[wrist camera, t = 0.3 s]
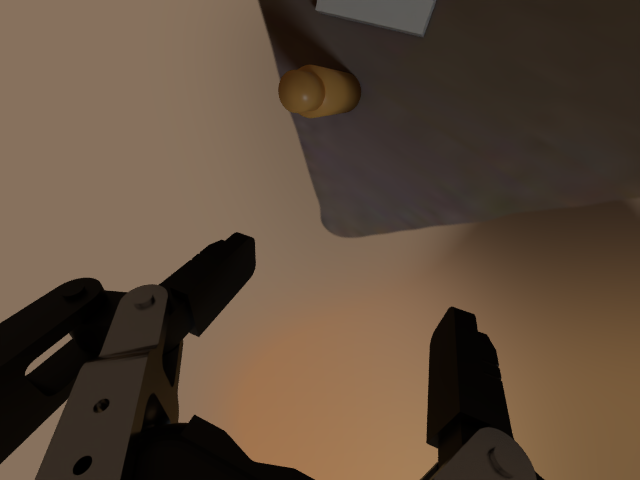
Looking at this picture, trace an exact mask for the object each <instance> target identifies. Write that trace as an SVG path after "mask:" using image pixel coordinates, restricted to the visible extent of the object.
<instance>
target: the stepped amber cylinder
mask: <svg viewBox="0 0 640 480" xmlns="http://www.w3.org/2000/svg"><path fill="white" fill-rule="evenodd" d="M278 92H279V98H280V100H281V103H282V104H283V106H284V107H285V108H286V109H287V110H288V111H290V112H293V113H299V114H300V115H302V116H304V117H307V118H315V117H321V116H328V115H334V114H340V113H346V112H349V111H351V110H353V109H354V108H355V107H356V106H357V104H358V102H359V100H360V97H361V87H360V83H359V81H358V80H357V78H356V77H355V76H354V75H352V74H350V73H347V72H342V71H338V70H333V69H329V68H325V67H320V66H316V65H305V66H302V67H300V68H299V69H298V70H290V71H288V72H286V73H285V74H284V75H283V76H282V78H281V80H280V83H279V89H278Z"/></svg>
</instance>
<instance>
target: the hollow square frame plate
mask: <svg viewBox="0 0 640 480" xmlns="http://www.w3.org/2000/svg"><path fill="white" fill-rule="evenodd" d="M435 3H436V0H317V4H316V11H318V12H319V13H321V14H325V15H330V16H334V17H338V18H342V19H347V20H351V21H355V22H359V23H364V24H368V25H372V26H377V27H381V28H385V29H389V30H394V31H398V32H402V33H406V34H411V35H415V36H419V37H423V36H424V33H425V31H426V28H427V25H428V22H429V19H430V17H431V14H432V11H433V8H434V5H435Z"/></svg>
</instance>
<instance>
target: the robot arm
mask: <svg viewBox="0 0 640 480" xmlns="http://www.w3.org/2000/svg"><path fill="white" fill-rule="evenodd" d="M255 266H256V260H255V240H254V238H252V237H250V236H247V235H244V234H241V233H238V232H236V233H234V234H233V235H231V236H230V237H229V238H228V239H227V240H225V241H224V240H220V241H218V242H215V243H213V244H210V245H208V246H207V247H206V248H205V249H203V250H202V251H201V252H200V254H197V255H196V256H195V257H193V258H192V260H190V261H188V262H187V263H186V264H185V265H183V266H182V267H181V268H180V269H178V270H177V271H176V272H174V273H173V274H172V275H171V276H170V277H168V278H167V279H166V280H164V281H163V282H162V283H161V284H159V285H153V284H152V285H144V286H140V287H137V288H135V289H133V290H131V291H130V292H116V291H105V290H104V289H103V287H102V285H101V283H100V282H99V281H98V280H96V279H93V278H80V279H75V280H71V281H69V282H66V283H64V284H62V285H60V286H58V287H57V288H55V289H54V290H52V291H50V292H49V293H47V294H46V295H44V296H43V297H41V298H39V299H38V300H36V301H35V302H33V303H31V304H30V305H28V306H27V307H25V308H24V309H22V310H20V311H19V312H17V313H16V314H14V315H13V316H11V317H9V318H8V319H6V320H5V321H3V322H1V323H0V464H1V463H2V462H3V461H4V460H5V459H6V458H7V457H8V456H9V455H10V454H11V453H12V452H13V451H14V450H15V449H16V448H17V447H18V446H20V445H21V444H22V443H23V442H24V441H25V440H26V439H27V438H28V437H29V436H30V435H31V434H32V433H33V432H34V431H35V430H36V429H37V428H38V427H39V426H40V425H41V424H42V423H43V422H44V421H45V420H46V419H47V418H48V417H49V416H50V415H51V414H52V413H54V412H55V411H56V410H57V409H58V408H59V407H60V406H61V405H62V404H63V403H64V402H65V401H66V400H67V399H68V401H67V403H66V405H65V408H64V410H63V413H62V415H61V417H60V420H59V423H58V425H57V427H56V430H55V432H54V435H53V437H52V439H51V442H50V444H49V447H48V449H47V451H46V454H45V456H44V459H43V461H42V463H41V466H40V468H39V471H38V473H37V475H36V478H35V480H315V479H313V478H311V477H309V476H307V475H305V474H303V473H302V472H300V471H298V470H296V469H294V468H288V467H282V466H276V465H270V464H264V463H258V462H254V461H252V460H251V459H250V458H249V457H248V456H247V455H246V454H245V453H244V452H243V451H242V449H241V448H240V447H239V446H238V445H237V444H236V443H235V442H234V441H233V439H232V438H231V437H230V436H229V435H228V434H227V433H226V432H225V431H224V430H222V429H220V428H218V427H216V426H215V425H213V424H211V423H209V422H207V421H205V420H203V419H202V418H200V417H198V416H196V415H194V416H193V417H192V419H191V420H190V422H189V423H178V418H179V404H178V394H177V393H178V383H179V374H180V365H181V358H182V349H183V338H184V337H185V336H186V335H187V334H188V333H191V334H193V335H196V336H198V337H199V336H200V335H201V334H202V333H203V332H204V331H205V329H206V328H207V327H208V326H209V325H210V324H211V322H212V321H213V320H214V319H215V318H216V317H217V316H218V314H219V313H220V312H221V311H222V310H223V309H224V308H225V306H226V305H227V304H228V303H229V302H230V301H231V300H232V299H233V297H234V296H235V295H236V294H237V293H238V292H239V290H240V289H241V288H242V287H243V286H244V285H245V284H246V282H247V281H248V280H249V279H250V278H251V276H252V275H253V273H254V270H255ZM68 333H69V334H70V335H71V337H72V338H73V339H72V340H70V341H69V342H68V343H67V344H65V345H64V346H63V347H62V348H60V349H59V350H58V351H57V352H55V353H54V354H53V355H52V356H50V357H49V358H48V359H47V360H45V361H44V362H43V363H42V364H41V365H39V366H38V367H37V368H36V369H35V370H33V371H32V372H31V373H29V374H28V375H26V376H25V371H26V369H27V367H28V366H29V365H30V363H32V362H33V361H34V360H35V359H36V358H37V357H39V356H40V355H41V354H43V353H44V352H45V351H46V350H48V349H49V348H50V347H51V346H53V345H54V344H55V343H56V342H58V341H59V340H60V339H62V338H63V337H64V336H66V335H67V334H68ZM498 366H499V363H498V358H497V353H496V349H495V348H494V346H493V344H492V343H491V341H490V339H489V337H488V336H487V335H486V334H484V333H481V332H478V330H477V322H476V317H475V315H474V314H472V313H469V312H466V311H463V310H460V309H457V308H455V307H450V308H449V309H448V310H447V312H446V313H445V315H444V317H443V318H442V320H441V321H440V323H439V324H438V326H437V328H436V329H435V331H434V333H433V336H432V338H431V343H430V357H429V385H428V414H427V441H426V443H427V444H429V445H431V446H434V447H436V448H438V462H437V463H436V464H435V465H434V466H433V467H432V468H431V469H430V470H429V471H428V472H427V473H426V474H425V475H424V476H423V477H422V478H421V479H420V480H544V479H543V478H542V477H540V476H539V475H538V474H537V473H536V472H535V471H534V468H533V466H532V464H531V461H530V460H529V458H528V456H527V455H526V453H525V452H524V451H523V449H522V448H521V447H520V446H519V444H518V443H517V442H516V441H515V440H514V438H513V434H512V430H511V425H510V419H509V415H508V409H507V404H506V399H505V394H504V389H503V383H502V381H501V373H500V369H499V368H498Z"/></svg>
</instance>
